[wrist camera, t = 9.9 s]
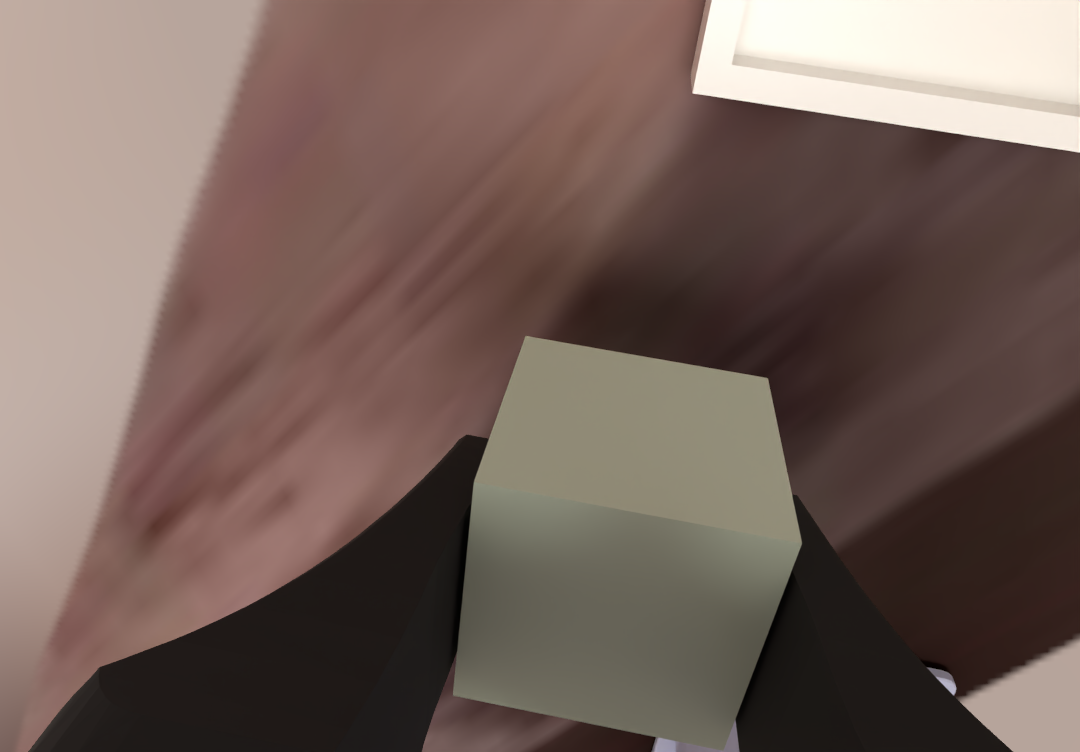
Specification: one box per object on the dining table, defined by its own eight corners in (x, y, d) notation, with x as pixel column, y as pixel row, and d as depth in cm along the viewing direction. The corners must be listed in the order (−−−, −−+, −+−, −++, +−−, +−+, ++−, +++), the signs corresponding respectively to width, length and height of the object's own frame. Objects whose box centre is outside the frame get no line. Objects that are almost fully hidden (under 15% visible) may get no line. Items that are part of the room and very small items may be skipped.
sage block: (711, 560, 15) (722, 751, 12) (502, 520, 15) (453, 695, 12) (767, 378, 13) (802, 543, 10) (525, 336, 13) (473, 482, 10)
